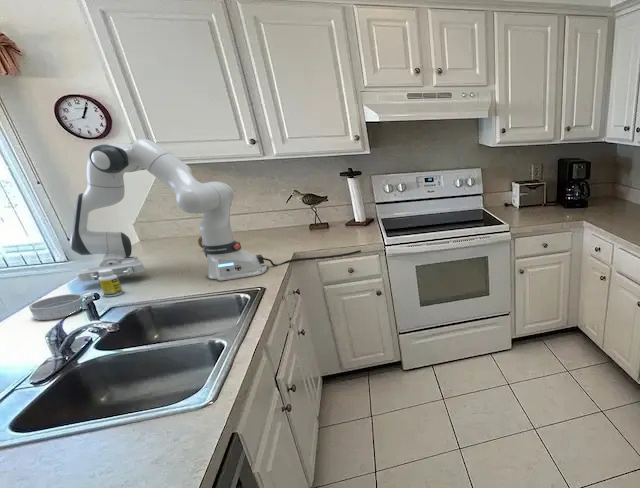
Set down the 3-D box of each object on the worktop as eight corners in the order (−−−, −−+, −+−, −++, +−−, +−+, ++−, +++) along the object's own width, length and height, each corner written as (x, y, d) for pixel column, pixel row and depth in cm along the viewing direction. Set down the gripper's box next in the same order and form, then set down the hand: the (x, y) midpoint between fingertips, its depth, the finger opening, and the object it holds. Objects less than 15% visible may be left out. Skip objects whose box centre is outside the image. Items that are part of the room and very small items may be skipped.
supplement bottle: (119, 296, 158) (109, 272, 154) (101, 297, 156) (92, 273, 153) (126, 291, 163) (117, 267, 159) (109, 292, 161) (100, 269, 157)
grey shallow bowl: (95, 303, 151) (90, 292, 150) (75, 317, 140) (70, 305, 138) (49, 308, 147) (44, 296, 146) (24, 323, 136) (18, 311, 134)
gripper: (77, 265, 166) (71, 273, 156) (141, 255, 178) (140, 263, 168) (83, 279, 169) (78, 289, 159) (146, 269, 180) (145, 277, 170)
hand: (111, 275), depth 163 cm, fingers open, 8 cm apart
